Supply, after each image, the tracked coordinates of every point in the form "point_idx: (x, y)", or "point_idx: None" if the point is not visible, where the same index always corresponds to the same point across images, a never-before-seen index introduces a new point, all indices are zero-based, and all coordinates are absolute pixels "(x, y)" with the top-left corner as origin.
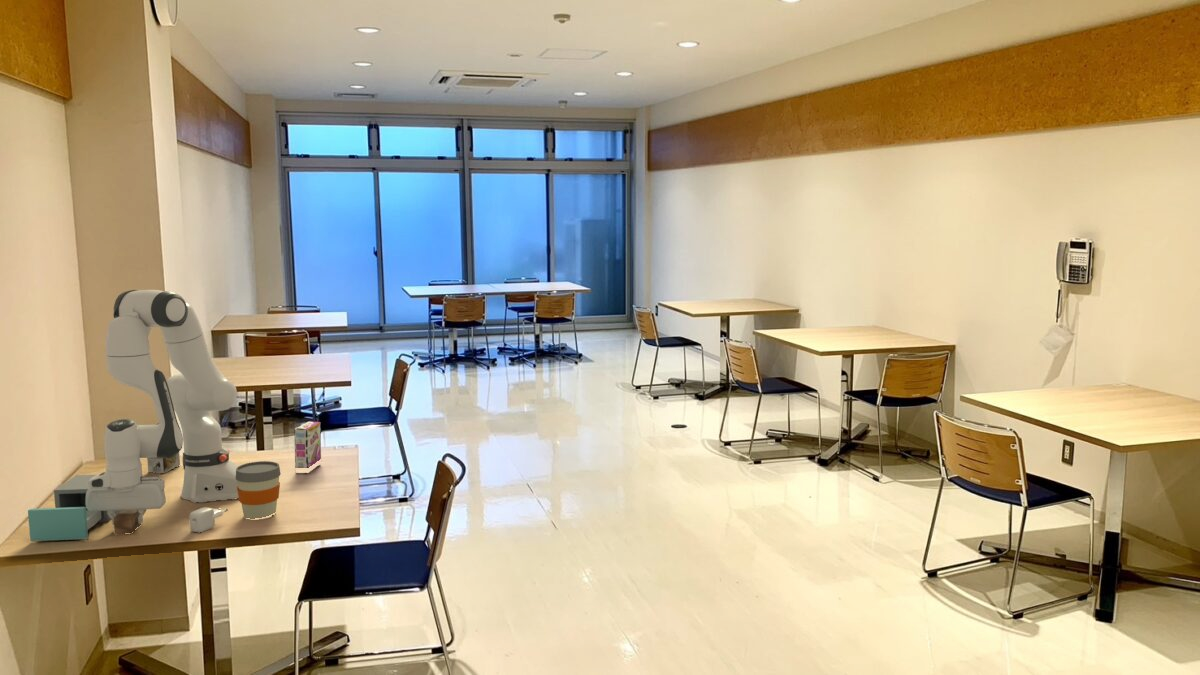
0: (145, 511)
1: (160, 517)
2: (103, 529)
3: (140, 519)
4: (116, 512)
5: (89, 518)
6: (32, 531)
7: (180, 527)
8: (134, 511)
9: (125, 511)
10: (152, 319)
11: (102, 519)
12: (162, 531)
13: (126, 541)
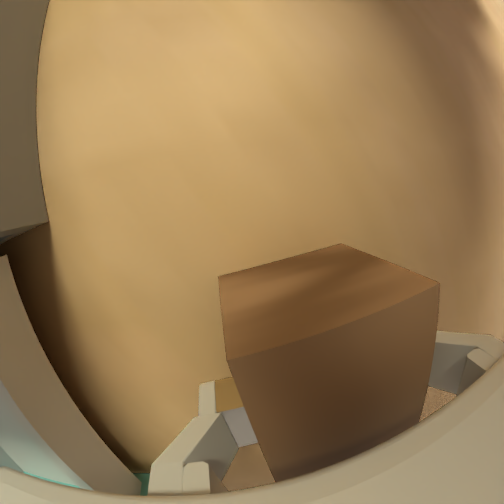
0: (480, 342)
1: (379, 91)
2: (122, 361)
3: None
4: (26, 85)
5: (67, 466)
6: None
7: (498, 252)
8: (411, 383)
9: (316, 418)
10: None
11: (10, 236)
12: (463, 313)
13: None
